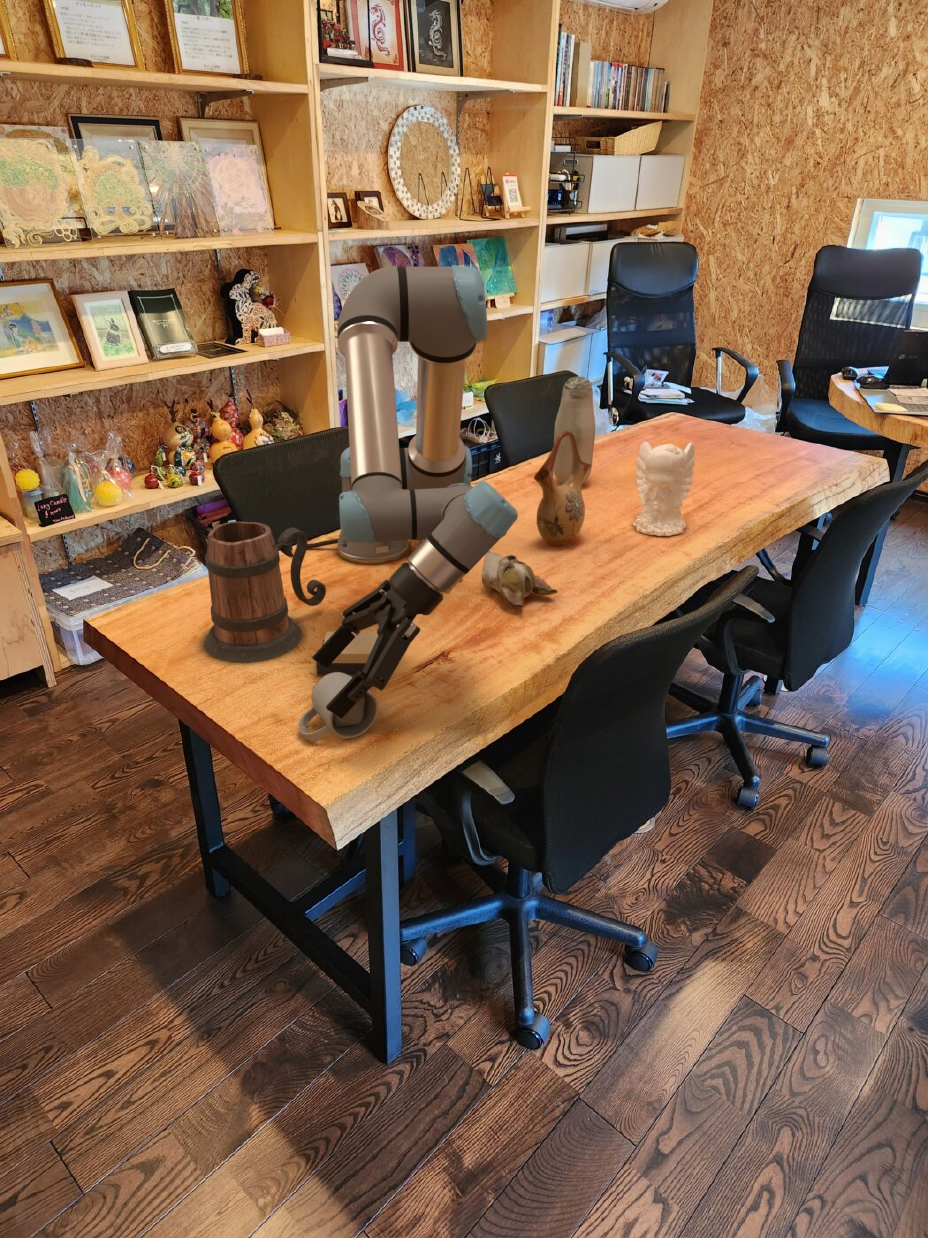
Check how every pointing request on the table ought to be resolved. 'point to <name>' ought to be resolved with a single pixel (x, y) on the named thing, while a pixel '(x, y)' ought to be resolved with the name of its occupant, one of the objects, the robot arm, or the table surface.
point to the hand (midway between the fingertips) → (326, 686)
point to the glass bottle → (575, 426)
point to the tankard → (253, 592)
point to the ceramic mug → (344, 727)
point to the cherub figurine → (663, 487)
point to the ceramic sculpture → (512, 579)
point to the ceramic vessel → (561, 498)
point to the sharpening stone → (350, 654)
